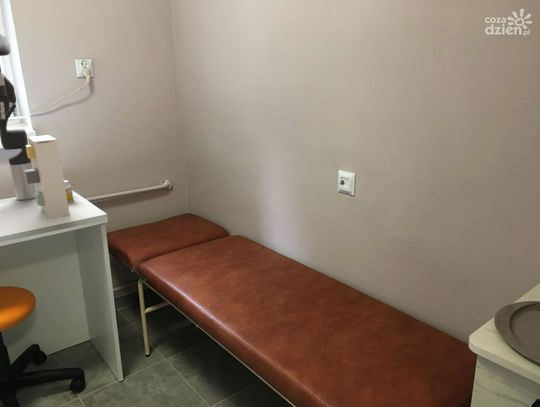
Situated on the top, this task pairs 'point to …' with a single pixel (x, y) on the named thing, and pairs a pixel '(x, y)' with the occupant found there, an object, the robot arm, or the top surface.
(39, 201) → the sage key
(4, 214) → the top surface
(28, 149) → the tan square block
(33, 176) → the charcoal key
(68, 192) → the supplement bottle
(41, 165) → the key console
